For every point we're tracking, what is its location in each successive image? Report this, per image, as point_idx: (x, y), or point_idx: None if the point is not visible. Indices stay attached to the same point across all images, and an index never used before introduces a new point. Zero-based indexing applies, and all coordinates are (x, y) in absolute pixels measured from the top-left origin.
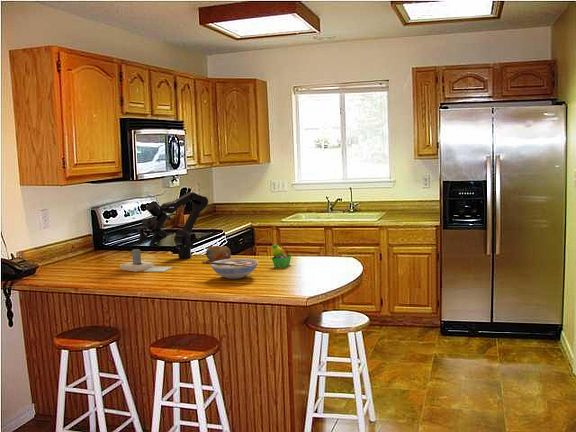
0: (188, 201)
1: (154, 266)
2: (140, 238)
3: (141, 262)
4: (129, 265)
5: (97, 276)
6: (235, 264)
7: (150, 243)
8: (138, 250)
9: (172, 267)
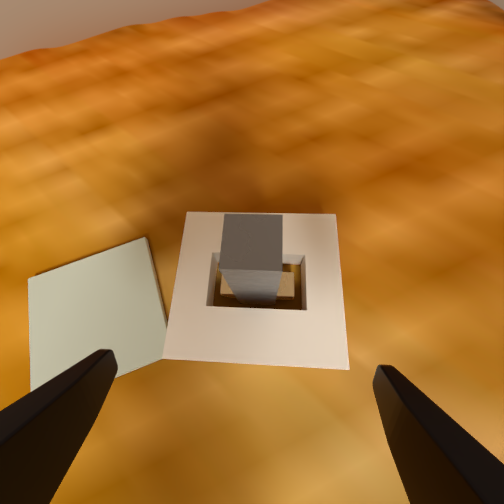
0: None
1: None
2: (466, 478)
3: (265, 327)
4: None
5: (278, 100)
6: None
7: (71, 367)
8: (221, 248)
9: None
